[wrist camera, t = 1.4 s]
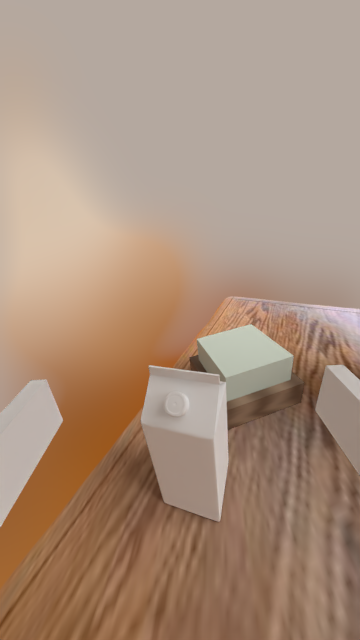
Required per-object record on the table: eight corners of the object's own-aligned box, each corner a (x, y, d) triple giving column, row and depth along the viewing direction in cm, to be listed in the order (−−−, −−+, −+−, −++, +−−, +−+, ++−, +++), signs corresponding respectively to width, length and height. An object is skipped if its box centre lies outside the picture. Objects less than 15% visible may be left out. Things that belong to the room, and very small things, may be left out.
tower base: (251, 357, 52) (252, 339, 50) (300, 404, 39) (304, 382, 37) (191, 375, 49) (189, 357, 47) (223, 433, 36) (222, 411, 34)
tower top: (250, 344, 48) (251, 324, 46) (290, 379, 38) (293, 355, 36) (198, 359, 46) (196, 339, 44) (226, 401, 35) (225, 377, 33)
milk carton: (181, 449, 34) (162, 346, 25) (228, 462, 32) (225, 352, 23) (163, 503, 28) (130, 391, 20) (220, 523, 26) (211, 406, 17)
